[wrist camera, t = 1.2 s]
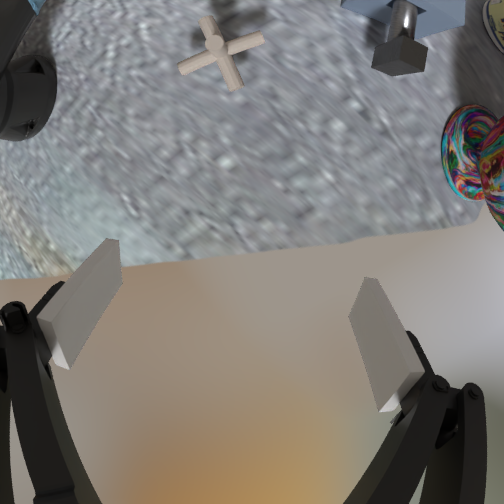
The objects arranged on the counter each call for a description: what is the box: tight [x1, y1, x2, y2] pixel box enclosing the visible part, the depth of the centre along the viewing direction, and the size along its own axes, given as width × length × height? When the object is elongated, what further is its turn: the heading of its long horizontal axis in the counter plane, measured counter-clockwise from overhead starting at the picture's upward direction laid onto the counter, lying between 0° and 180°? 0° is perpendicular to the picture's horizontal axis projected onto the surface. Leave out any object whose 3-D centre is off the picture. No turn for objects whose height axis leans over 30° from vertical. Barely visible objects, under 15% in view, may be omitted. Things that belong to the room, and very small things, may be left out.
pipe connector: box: [177, 16, 265, 92], centre depth 27 cm, size 10×10×10 cm
